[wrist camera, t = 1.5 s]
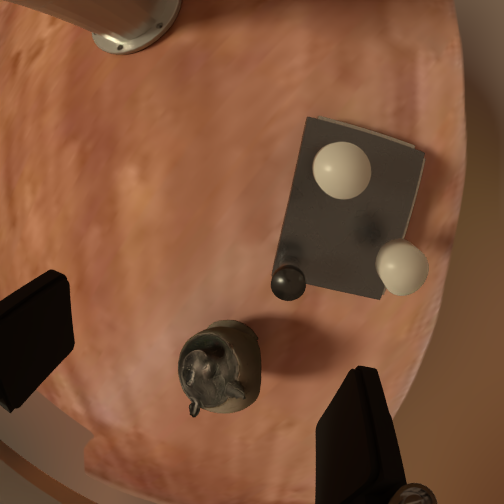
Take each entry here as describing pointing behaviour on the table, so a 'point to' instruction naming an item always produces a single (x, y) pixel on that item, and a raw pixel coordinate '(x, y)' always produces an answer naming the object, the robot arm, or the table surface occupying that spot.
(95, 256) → the table surface
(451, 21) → the table surface
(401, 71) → the table surface
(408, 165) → the mount
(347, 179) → the knob
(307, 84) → the table surface
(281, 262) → the dark brown round knob
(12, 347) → the robot arm
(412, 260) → the knob
